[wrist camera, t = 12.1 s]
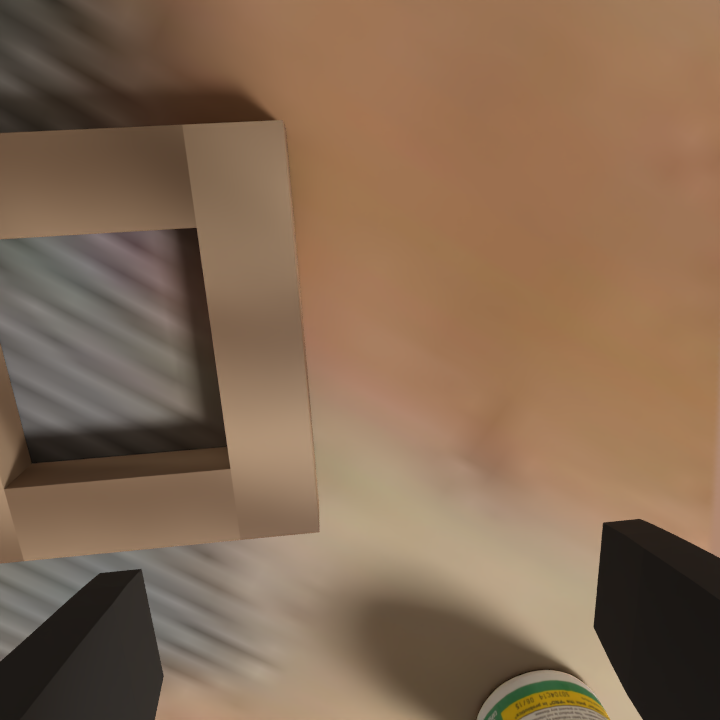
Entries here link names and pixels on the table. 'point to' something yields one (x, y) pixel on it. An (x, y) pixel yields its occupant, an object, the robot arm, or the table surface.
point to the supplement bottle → (543, 699)
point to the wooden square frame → (228, 327)
